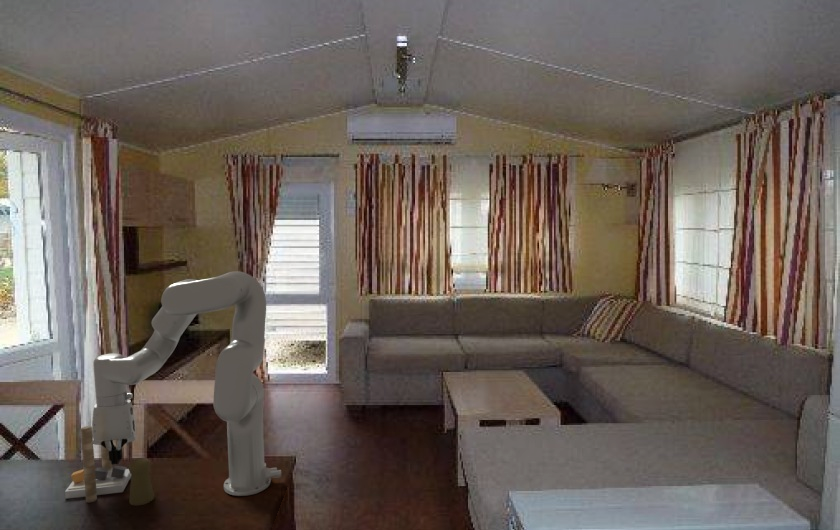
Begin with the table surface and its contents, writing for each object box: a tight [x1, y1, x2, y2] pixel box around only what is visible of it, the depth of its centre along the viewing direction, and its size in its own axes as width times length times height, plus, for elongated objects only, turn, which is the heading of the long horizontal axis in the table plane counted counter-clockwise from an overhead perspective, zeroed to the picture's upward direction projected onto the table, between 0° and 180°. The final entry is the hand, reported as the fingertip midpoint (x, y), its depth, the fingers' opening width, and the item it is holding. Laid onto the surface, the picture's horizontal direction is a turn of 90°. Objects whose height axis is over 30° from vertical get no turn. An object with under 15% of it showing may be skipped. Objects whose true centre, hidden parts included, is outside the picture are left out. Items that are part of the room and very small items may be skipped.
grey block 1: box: [95, 466, 109, 480], centre depth 158 cm, size 3×2×2 cm, turn 105°
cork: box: [128, 457, 155, 506], centre depth 151 cm, size 6×6×11 cm
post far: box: [100, 445, 114, 471], centre depth 165 cm, size 3×3×20 cm
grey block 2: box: [111, 465, 127, 478], centre depth 159 cm, size 3×2×2 cm, turn 105°
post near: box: [80, 425, 98, 504], centre depth 150 cm, size 3×3×20 cm
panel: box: [64, 468, 132, 499], centre depth 158 cm, size 14×10×2 cm
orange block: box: [70, 469, 84, 483], centre depth 157 cm, size 3×2×2 cm, turn 103°
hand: (116, 462), depth 159 cm, fingers closed
